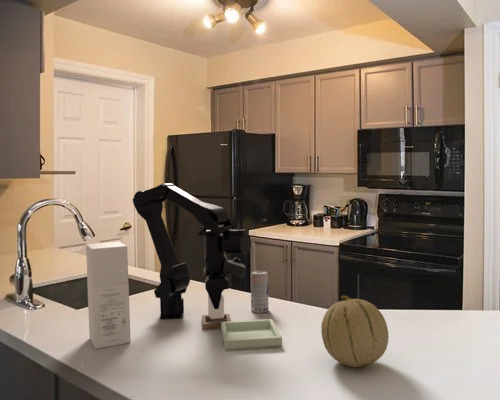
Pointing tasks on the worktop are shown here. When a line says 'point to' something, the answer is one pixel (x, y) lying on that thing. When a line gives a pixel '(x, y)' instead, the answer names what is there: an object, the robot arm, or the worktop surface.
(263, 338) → the tray
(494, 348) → the worktop surface
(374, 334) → the cantaloupe
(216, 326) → the holder
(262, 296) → the energy drink
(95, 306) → the tall white carton
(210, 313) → the salt shaker
